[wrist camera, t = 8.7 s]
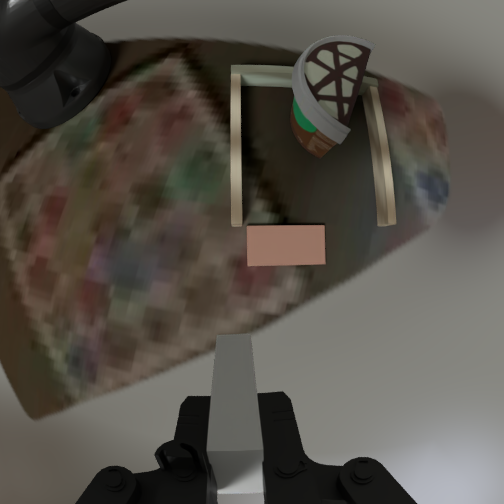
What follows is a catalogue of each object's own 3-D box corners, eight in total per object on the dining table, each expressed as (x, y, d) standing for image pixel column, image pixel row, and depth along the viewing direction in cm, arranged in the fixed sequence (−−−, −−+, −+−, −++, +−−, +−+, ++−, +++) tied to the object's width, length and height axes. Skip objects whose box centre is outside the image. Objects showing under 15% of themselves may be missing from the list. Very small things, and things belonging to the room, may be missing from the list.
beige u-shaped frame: (231, 79, 30) (231, 65, 27) (367, 90, 30) (376, 78, 27) (231, 226, 29) (231, 223, 26) (385, 226, 30) (398, 223, 27)
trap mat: (246, 226, 29) (246, 225, 29) (323, 225, 30) (324, 225, 30) (247, 266, 29) (247, 266, 29) (324, 264, 30) (325, 264, 30)
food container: (299, 67, 30) (318, 14, 20) (345, 87, 30) (376, 41, 20) (262, 147, 30) (274, 102, 20) (315, 170, 30) (349, 135, 20)
